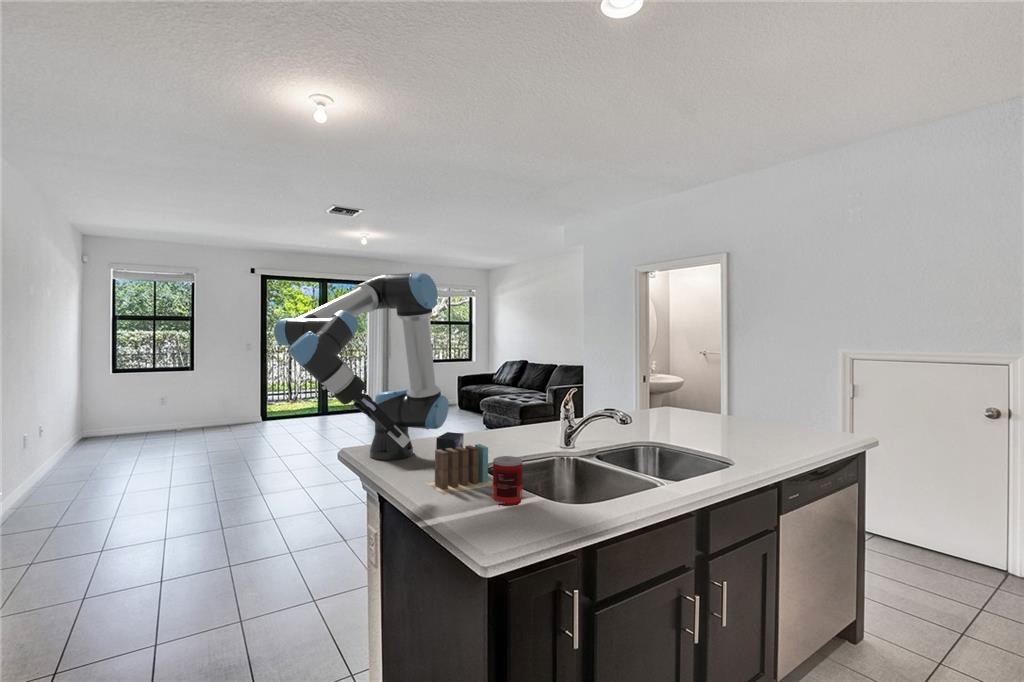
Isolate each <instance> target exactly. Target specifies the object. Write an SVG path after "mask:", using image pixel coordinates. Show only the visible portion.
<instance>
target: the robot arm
mask: <svg viewBox="0 0 1024 682" xmlns="http://www.w3.org/2000/svg"><path fill="white" fill-rule="evenodd" d="M438 295H439V294H438V289H437V286H436V283H435V281H434V279H433V278H432V277H431V276H430V275H429V274H427V273H425V272H424V273H422V272H404V273H386V274H385V273H384V274H382V275H377V276H375V277H373V278H370V279H367V280H365V281H364V282H363V281H362V282H361V283H359V284H357V285H355V287H354V288H353V289H352V291H350V292H348V293H346V294H343V295H341V296H339V297H337V298H335V299H333V300H331V301H329V302H326V303H325V304H324V303H323V304H322V305H321V306H318V307H316V308H315V309H312V310H310V311H308V312H306V313H304V314H301V315H299V316H297V317H293V318H292V317H287V318H282V319H281V318H280V320H279V319H278V321H277V322H276V324H275V325H274V328H273V329H274V330H273V335H274V338H275V341H276V342H277V343H278V344H279V345H282V346H286V347H287V346H288V347H289V349H288V352H289V355H290V356H291V357H292V358H293V359H294V360H295V361H296V362H297V363H298V365H299V366H300V367H301V368H303V369H304V370H305V371H306V372H308V373H309V374H310V375H311V376H312V377H313V378H314V379H315V380H316V381H317V382H318V383H320V384H321V385H323V386H321V388H322V390H323V391H325V390H327V391H328V392H329V393H330V394H333V396H334V398H336V399H337V400H338V401H339V402H340V403H341V404H342V405H345V406H346V405H348V404H350V403H352V402H353V406H354V407H355V408H356V409H358V410H359V411H361V412H362V414H364V415H366V416H367V417H368V419H370V420H372V422H374V435H373V439H372V441H371V445H370V448H369V457H370V458H371V459H375V460H379V461H380V460H381V461H383V460H384V461H391V460H401V459H406V458H409V457H412V456H413V455H414V447H413V444H412V441H411V438H410V433H409V428H412V429H413V428H414V429H421V430H422V429H423V430H424V429H425V430H437V429H439V428H441V427H443V425H444V424H445V422H446V420H447V417H448V414H449V409H450V406H449V400H448V398H447V396H445V395H442V392H441V388H440V387H439V386H438V385H437V384H436V377H435V368H434V359H433V350H432V349H433V347H432V341H431V339H432V337H431V331H430V329H431V328H430V321H429V317H430V316H431V315H432V313H433V309H434V308H435V307H436V306H437V303H438ZM383 309H384V310H385V309H387V310H388V309H389V310H390V309H392V310H393V309H394V310H395V309H396V316H397V317H398V318H399V319H401V320H402V327H403V334H404V335H403V336H404V345H405V346H404V347H405V354H406V362H407V370H408V377H409V378H408V379H409V387H410V388H409V389H396V390H390V391H389V390H387V391H381V392H379V393H377V394H376V395H375V401H374V400H373V398H372V397H371V396H370V395H368V394H366V393H363V390H365V388H366V382H365V381H363V379H361V377H360V376H358V375H357V374H355V371H353V369H352V368H350V367H349V366H348V364H347V363H346V362H344V361H343V360H342V359H341V358H340V356H338V355H339V354H340V353H341V352H342V350H343V349H344V348H345V347H346V346H347V345H348V344H349V342H350V341H351V340H353V338H354V336H355V335H356V334H357V332H358V330H359V324H360V323H359V321H358V320H357V317H358V316H360V315H362V314H364V313H372V312H374V311H376V310H383Z"/></svg>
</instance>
